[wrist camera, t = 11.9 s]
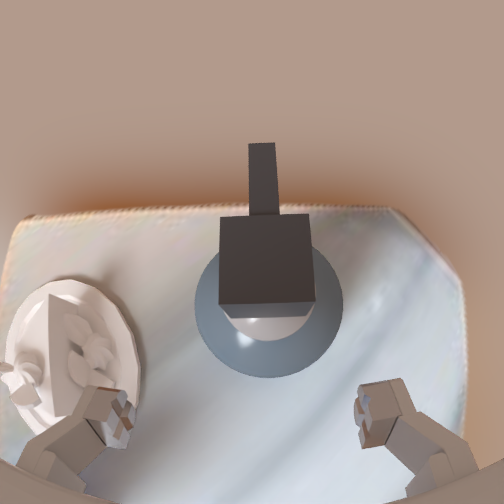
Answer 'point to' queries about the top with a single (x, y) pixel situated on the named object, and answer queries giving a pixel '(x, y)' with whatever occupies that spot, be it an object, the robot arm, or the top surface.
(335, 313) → the dispenser
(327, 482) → the top surface
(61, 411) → the dish
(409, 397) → the robot arm
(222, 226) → the pump head
